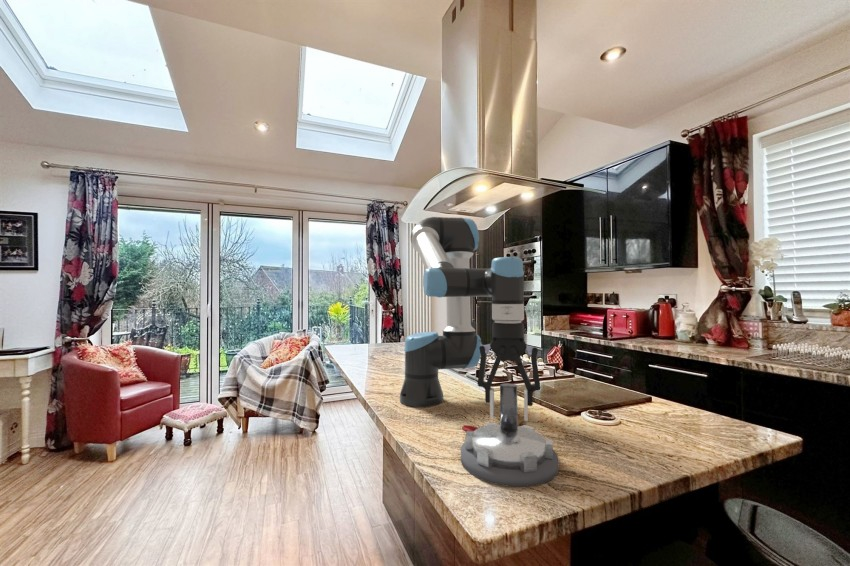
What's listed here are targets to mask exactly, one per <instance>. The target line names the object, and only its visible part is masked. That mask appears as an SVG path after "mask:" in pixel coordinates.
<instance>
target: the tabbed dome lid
mask: <svg viewBox="0 0 850 566" xmlns="http://www.w3.org/2000/svg"><path fill="white" fill-rule="evenodd" d="M499 388H500V389H499V395H500V396H499V398H500V400H499V407H500V410H499V411H500V414H499V415H500V420H499V421H500V422H499V423H500V424H499V423H497V422H495V421H494V422H484V425H483V426H481V427H477V428H478V429H476V430H475V431H474V432H472V431H467V432H466V433H465V436H464V439H465V441H464V443H465V449H468V450H472V452H473V454H474V456H476V457H477V463H478V464H480V465H482V466H485V467H487V468H489V467H491V466H496V467H501V468H508V469H521V470H522V471H523V472H531V471H537V466H538V465H540V464H541V463H543V462H544V461H545V459H546V458H547V459H553V450H554V444H553V439H549V438H545V436H543V435H542V434H541V433H539V432H537V431H536V429H535V427H532V426H529V425H526V424H523V425H521V426H520V425H518V414H519V412H518V385H517V384H514V383H508V382H507V383H506V382H505V383H501V384H499Z"/></svg>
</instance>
